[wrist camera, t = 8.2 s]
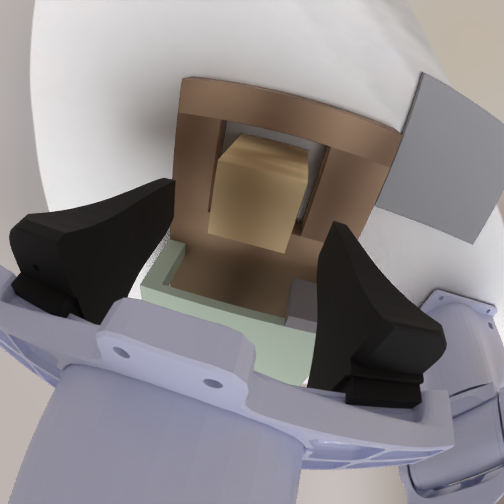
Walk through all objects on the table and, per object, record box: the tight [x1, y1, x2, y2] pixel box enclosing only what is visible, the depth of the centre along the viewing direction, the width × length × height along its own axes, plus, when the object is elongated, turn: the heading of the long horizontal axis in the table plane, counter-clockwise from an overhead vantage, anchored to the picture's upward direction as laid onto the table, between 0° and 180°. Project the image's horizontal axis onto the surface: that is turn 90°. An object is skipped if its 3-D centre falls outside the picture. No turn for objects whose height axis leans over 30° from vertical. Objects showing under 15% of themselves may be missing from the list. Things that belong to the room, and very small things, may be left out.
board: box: [170, 77, 402, 318], centre depth 20 cm, size 12×20×2 cm, turn 170°
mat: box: [374, 73, 504, 245], centre depth 14 cm, size 9×9×1 cm
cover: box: [140, 239, 317, 386], centre depth 20 cm, size 12×9×5 cm
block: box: [208, 133, 308, 253], centre depth 15 cm, size 4×4×5 cm
